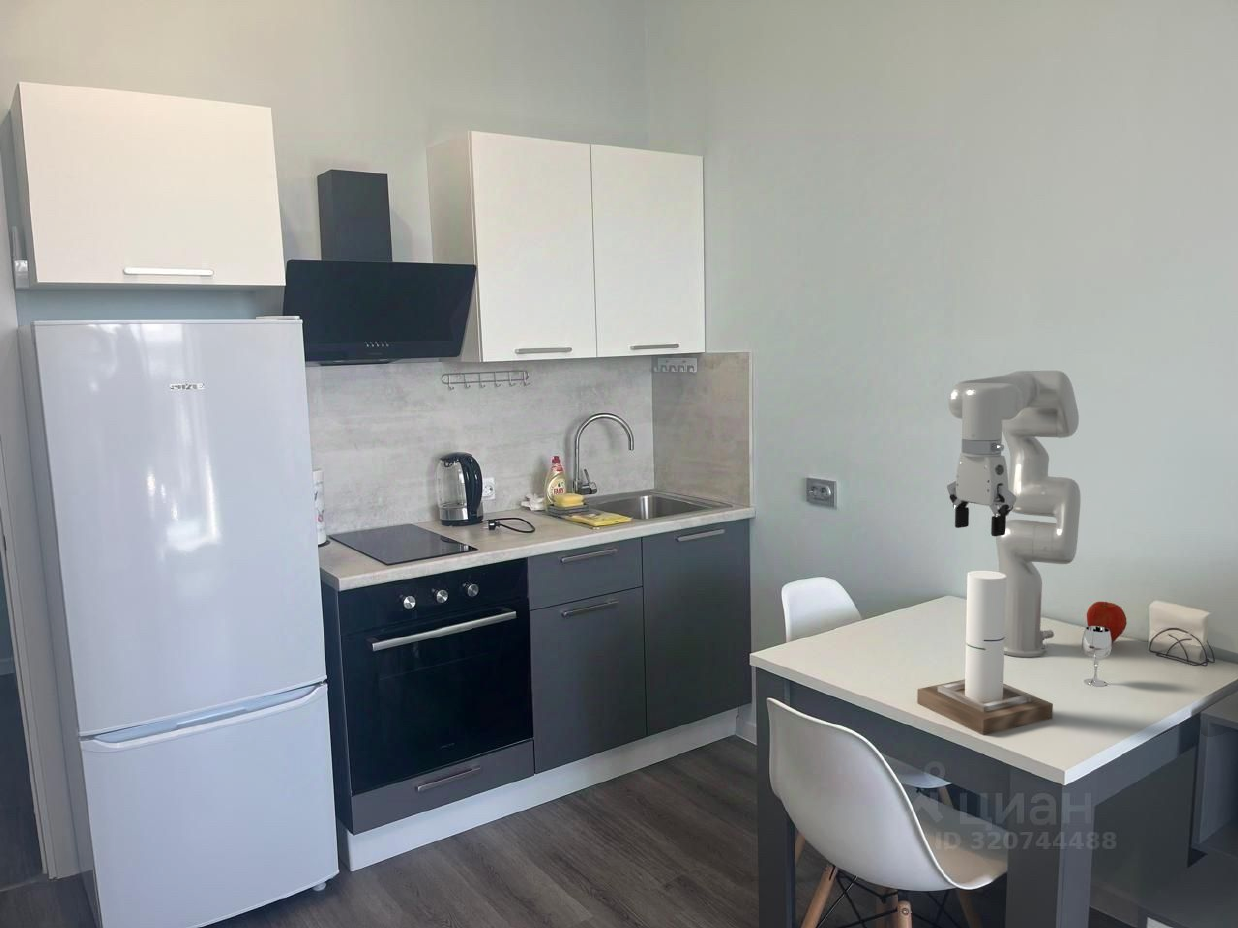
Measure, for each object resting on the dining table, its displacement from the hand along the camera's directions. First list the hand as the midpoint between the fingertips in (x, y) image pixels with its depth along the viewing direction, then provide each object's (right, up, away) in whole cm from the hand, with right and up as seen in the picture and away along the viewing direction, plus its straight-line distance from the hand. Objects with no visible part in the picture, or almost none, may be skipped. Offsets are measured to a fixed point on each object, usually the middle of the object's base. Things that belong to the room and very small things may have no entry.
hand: (979, 531), depth 191 cm
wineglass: (+30, -34, +13) cm, 47 cm away
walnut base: (0, -36, -2) cm, 36 cm away
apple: (+45, -31, +38) cm, 66 cm away
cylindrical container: (0, -33, -2) cm, 33 cm away
